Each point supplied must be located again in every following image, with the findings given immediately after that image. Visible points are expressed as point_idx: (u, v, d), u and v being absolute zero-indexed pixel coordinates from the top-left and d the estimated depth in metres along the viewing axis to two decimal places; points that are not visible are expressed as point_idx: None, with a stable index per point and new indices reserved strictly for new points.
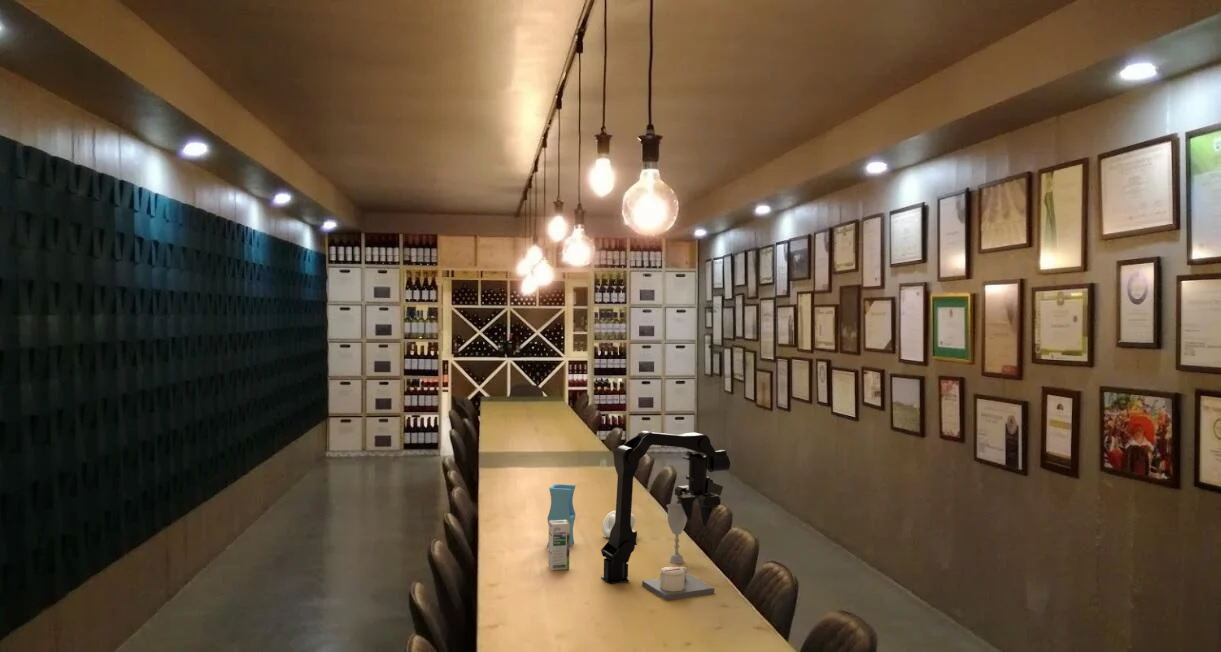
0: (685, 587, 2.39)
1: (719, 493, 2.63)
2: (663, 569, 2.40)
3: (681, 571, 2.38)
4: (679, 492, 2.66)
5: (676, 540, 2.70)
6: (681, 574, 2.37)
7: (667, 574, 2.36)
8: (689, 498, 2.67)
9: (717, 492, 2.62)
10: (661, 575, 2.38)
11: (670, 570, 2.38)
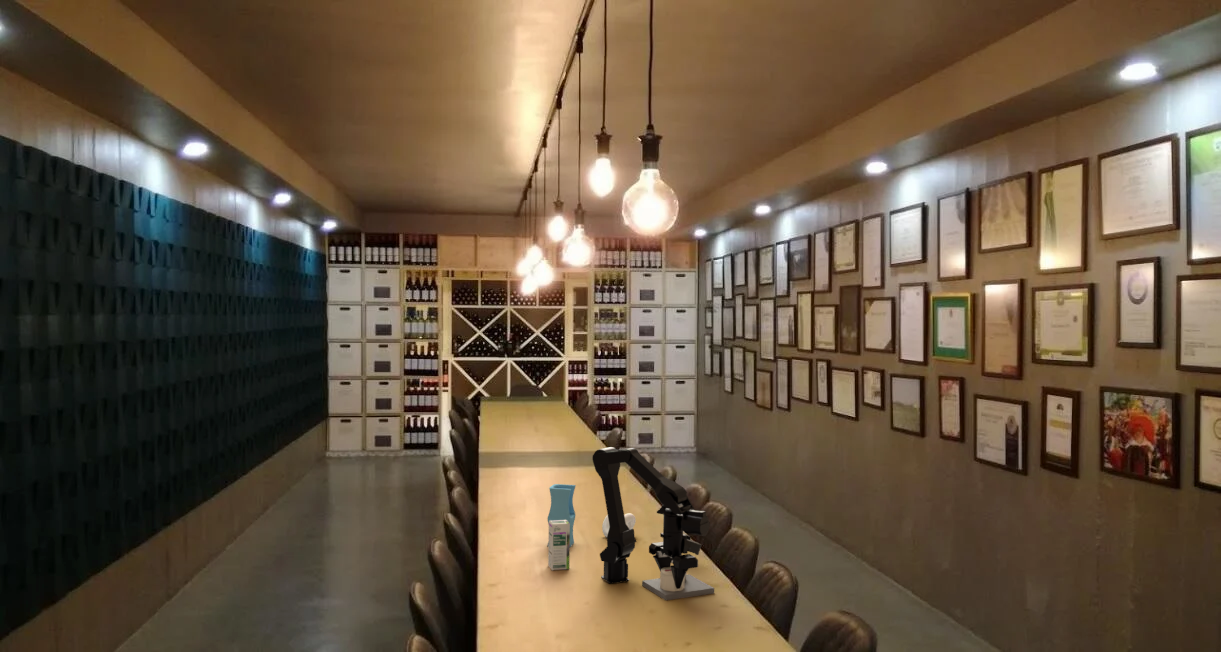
0: (685, 587, 2.39)
1: (697, 552, 2.40)
2: (663, 569, 2.40)
3: None
4: (653, 550, 2.43)
5: None
6: None
7: (667, 574, 2.36)
8: (666, 558, 2.43)
9: (694, 551, 2.39)
10: (661, 575, 2.38)
11: (670, 570, 2.38)
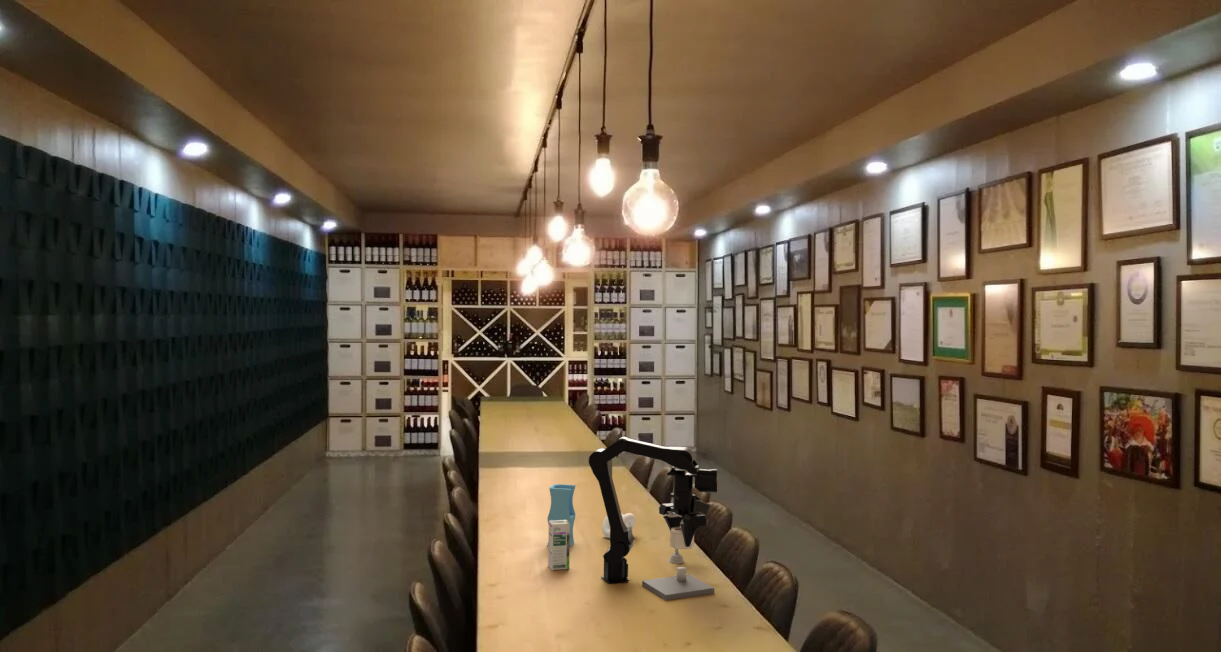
0: (685, 587, 2.39)
1: (706, 512, 2.47)
2: (673, 528, 2.47)
3: None
4: (663, 511, 2.50)
5: None
6: None
7: (677, 533, 2.43)
8: (676, 518, 2.50)
9: (704, 511, 2.46)
10: (671, 534, 2.45)
11: (680, 529, 2.45)
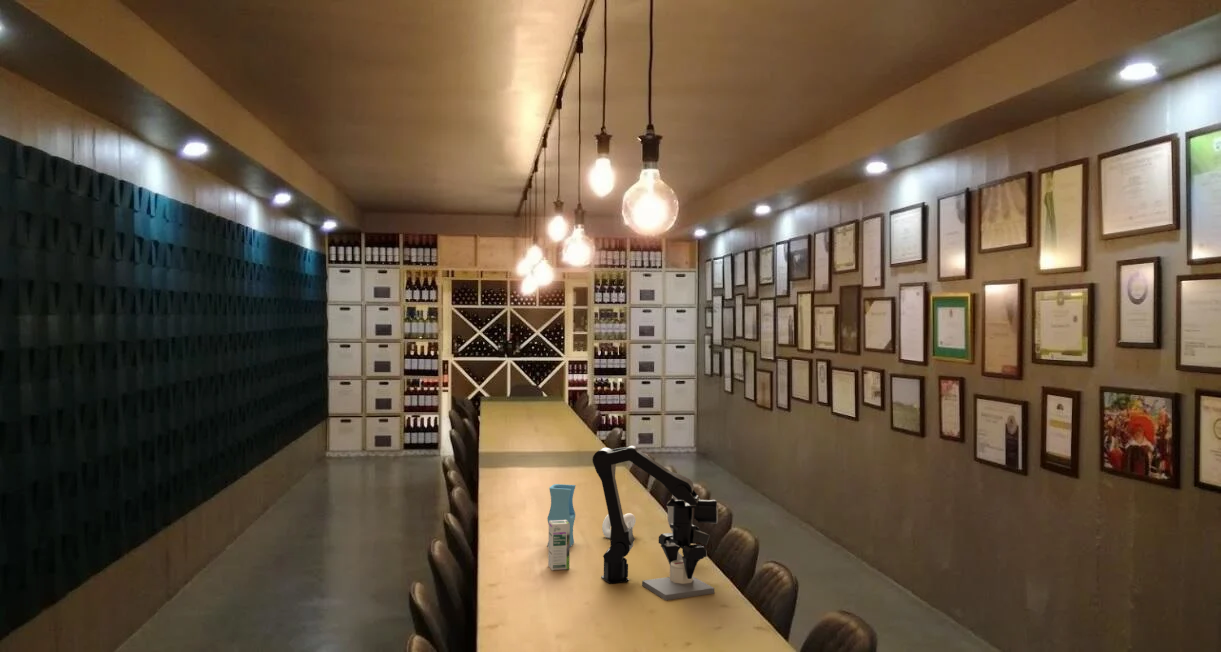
0: (685, 587, 2.39)
1: (705, 542, 2.47)
2: (673, 562, 2.47)
3: None
4: (663, 541, 2.50)
5: None
6: None
7: (677, 567, 2.43)
8: (674, 547, 2.51)
9: (703, 541, 2.46)
10: (671, 568, 2.45)
11: (679, 563, 2.45)
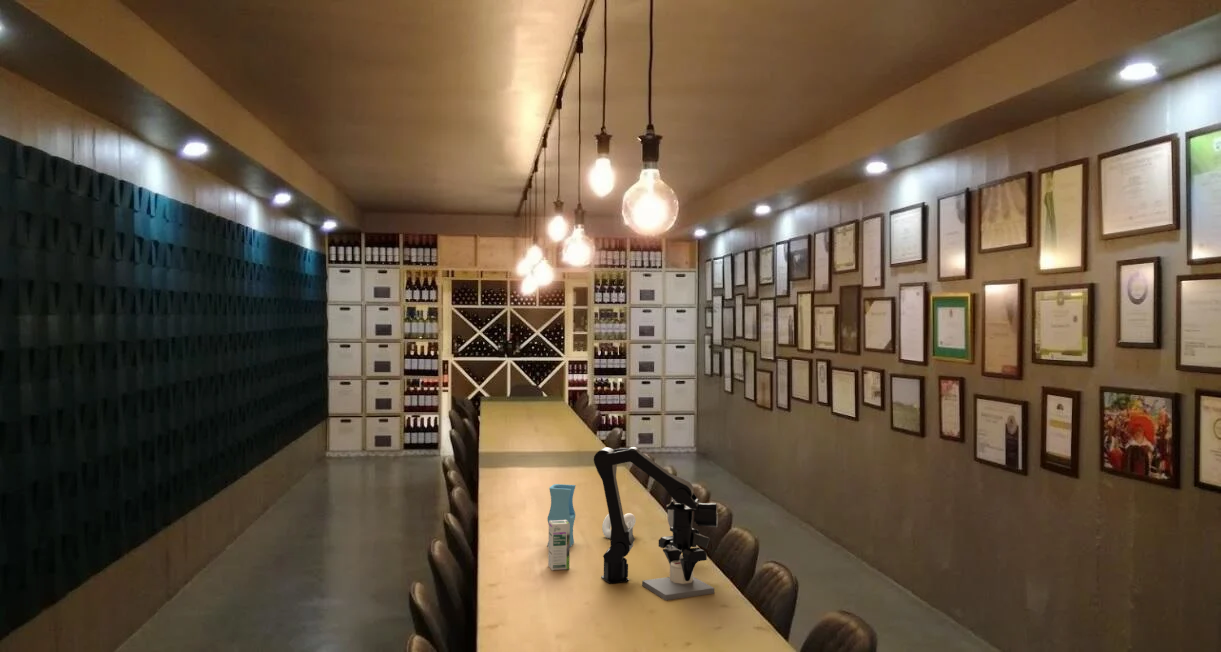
0: (685, 587, 2.39)
1: (705, 546, 2.47)
2: (673, 562, 2.47)
3: None
4: (663, 544, 2.50)
5: None
6: None
7: (677, 567, 2.43)
8: (676, 551, 2.50)
9: (703, 545, 2.46)
10: (671, 568, 2.45)
11: (679, 563, 2.45)
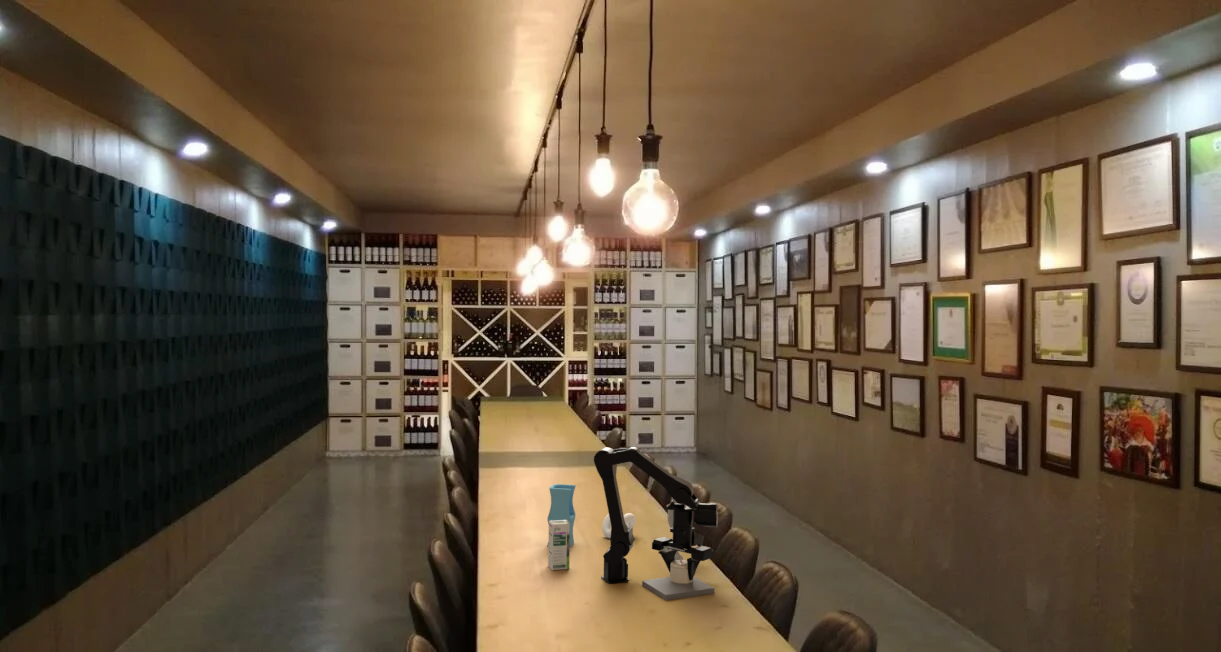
0: (685, 587, 2.39)
1: (701, 543, 2.50)
2: (677, 565, 2.44)
3: None
4: (659, 546, 2.48)
5: None
6: None
7: None
8: (671, 552, 2.49)
9: (700, 542, 2.49)
10: (680, 571, 2.43)
11: (683, 564, 2.45)
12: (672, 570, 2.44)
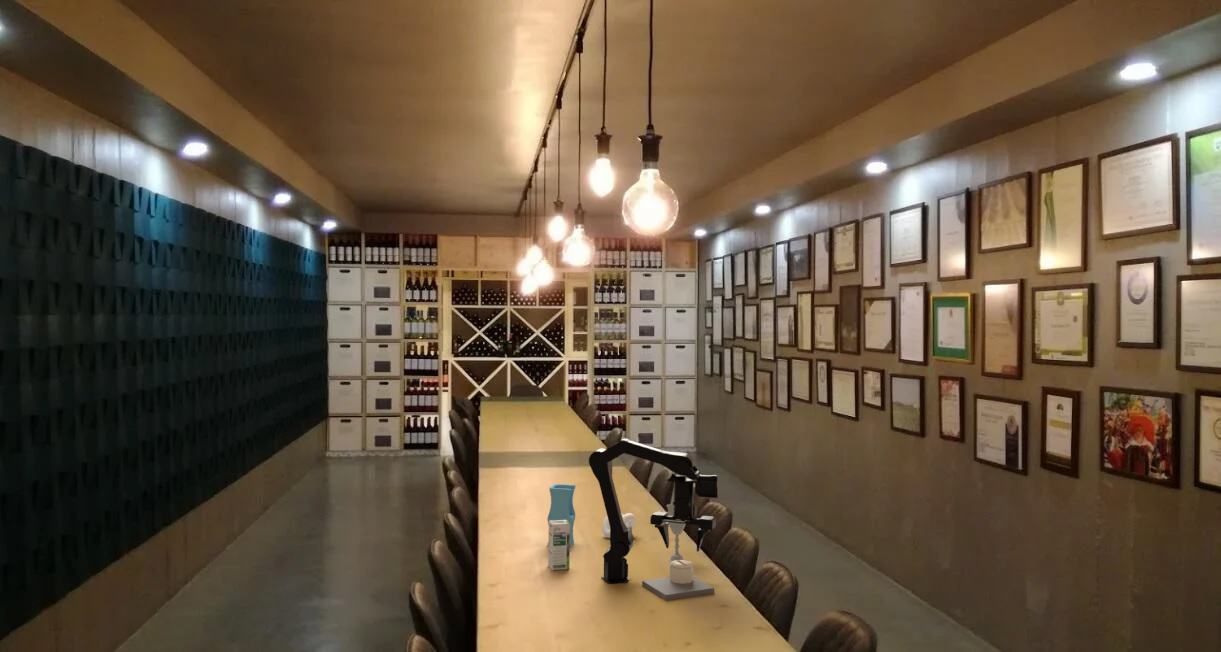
0: (685, 587, 2.39)
1: (696, 514, 2.52)
2: (680, 565, 2.44)
3: (685, 560, 2.49)
4: (661, 520, 2.45)
5: (676, 540, 2.70)
6: None
7: (691, 566, 2.44)
8: (666, 525, 2.48)
9: (695, 513, 2.51)
10: (684, 571, 2.43)
11: (684, 563, 2.45)
12: (675, 571, 2.43)
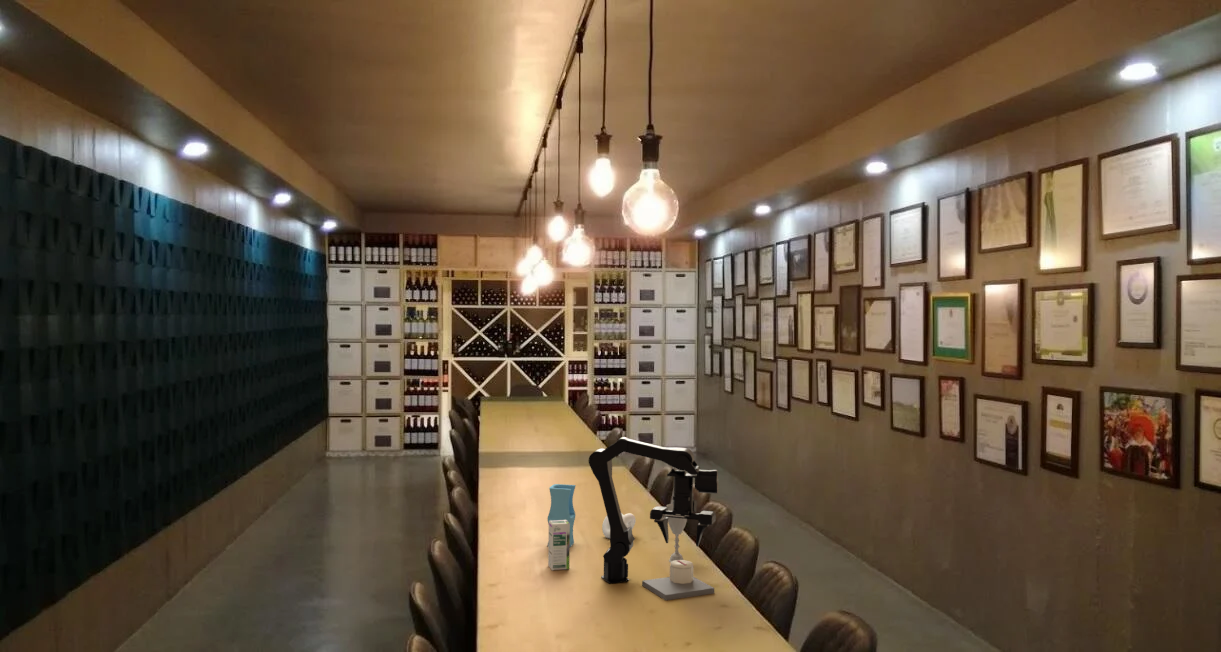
0: (685, 587, 2.39)
1: None
2: (680, 565, 2.44)
3: (685, 560, 2.49)
4: (660, 515, 2.45)
5: (676, 540, 2.70)
6: None
7: (691, 566, 2.44)
8: (666, 520, 2.48)
9: (695, 508, 2.51)
10: (684, 571, 2.43)
11: (684, 563, 2.45)
12: (675, 571, 2.43)
